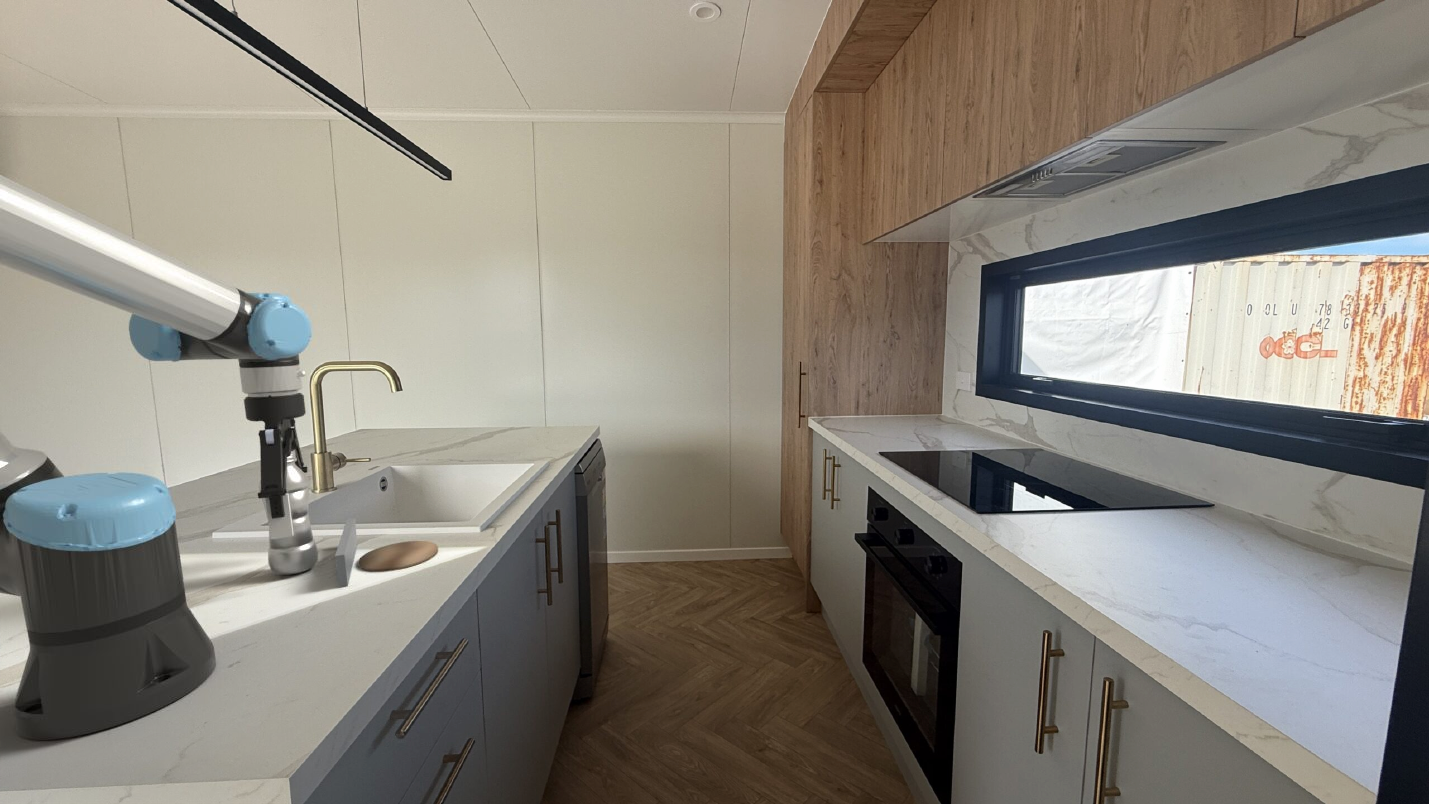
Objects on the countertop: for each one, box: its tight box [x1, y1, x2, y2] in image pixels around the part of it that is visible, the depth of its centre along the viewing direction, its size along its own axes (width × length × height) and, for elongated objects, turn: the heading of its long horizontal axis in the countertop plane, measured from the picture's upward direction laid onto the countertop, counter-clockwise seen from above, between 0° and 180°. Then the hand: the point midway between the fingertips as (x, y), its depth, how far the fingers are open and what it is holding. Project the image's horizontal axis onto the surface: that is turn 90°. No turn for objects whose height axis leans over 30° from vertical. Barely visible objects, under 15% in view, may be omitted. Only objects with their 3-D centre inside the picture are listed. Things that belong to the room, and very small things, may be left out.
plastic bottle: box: [258, 449, 319, 576], centre depth 93 cm, size 6×7×20 cm
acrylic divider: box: [334, 517, 358, 588], centre depth 96 cm, size 1×20×5 cm, turn 28°
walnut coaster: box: [358, 540, 439, 572], centre depth 99 cm, size 12×12×1 cm
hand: (290, 524), depth 93 cm, fingers open, 13 cm apart
